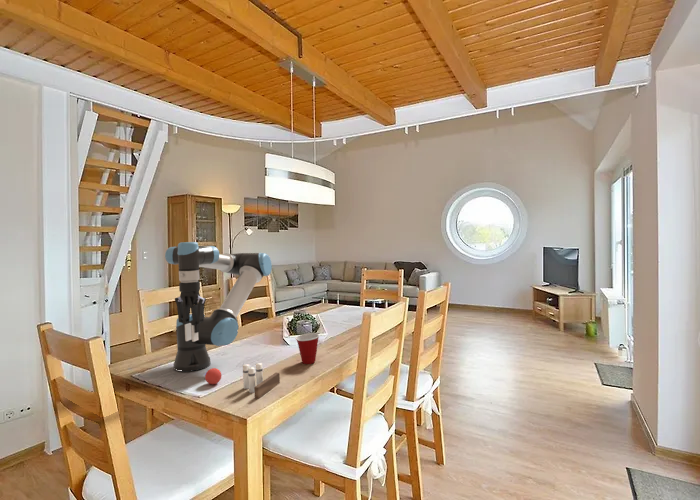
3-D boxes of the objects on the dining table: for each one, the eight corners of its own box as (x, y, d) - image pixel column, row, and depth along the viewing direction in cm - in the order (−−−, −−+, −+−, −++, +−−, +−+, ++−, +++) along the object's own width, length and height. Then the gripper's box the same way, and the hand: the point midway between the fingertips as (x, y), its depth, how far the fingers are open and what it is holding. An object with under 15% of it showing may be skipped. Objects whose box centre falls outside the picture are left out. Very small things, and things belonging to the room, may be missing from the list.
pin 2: (255, 387, 147) (254, 364, 147) (258, 384, 150) (257, 362, 150) (260, 388, 147) (260, 365, 146) (264, 385, 149) (263, 363, 149)
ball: (202, 386, 150) (201, 370, 150) (212, 380, 156) (211, 365, 156) (215, 387, 148) (214, 372, 148) (225, 381, 154) (224, 366, 154)
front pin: (242, 388, 146) (241, 366, 146) (245, 386, 149) (245, 363, 148) (247, 389, 146) (247, 366, 145) (251, 386, 148) (250, 364, 148)
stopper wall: (254, 398, 137) (254, 387, 137) (276, 382, 152) (275, 372, 151) (258, 398, 137) (258, 387, 137) (279, 383, 151) (279, 372, 151)
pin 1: (247, 392, 143) (246, 369, 142) (251, 389, 145) (250, 367, 145) (253, 393, 142) (252, 369, 142) (257, 390, 144) (256, 367, 144)
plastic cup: (296, 359, 180) (295, 333, 180) (320, 357, 181) (319, 332, 181) (295, 366, 169) (294, 339, 169) (320, 365, 170) (319, 338, 170)
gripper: (166, 282, 152) (169, 341, 153) (199, 282, 147) (201, 344, 148) (180, 279, 160) (182, 336, 160) (212, 280, 155) (214, 339, 155)
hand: (192, 340), depth 154 cm, fingers open, 3 cm apart
